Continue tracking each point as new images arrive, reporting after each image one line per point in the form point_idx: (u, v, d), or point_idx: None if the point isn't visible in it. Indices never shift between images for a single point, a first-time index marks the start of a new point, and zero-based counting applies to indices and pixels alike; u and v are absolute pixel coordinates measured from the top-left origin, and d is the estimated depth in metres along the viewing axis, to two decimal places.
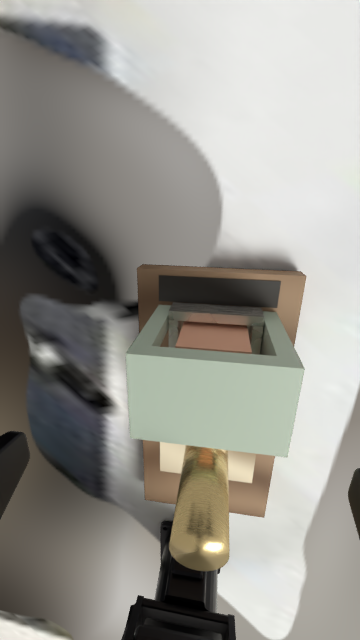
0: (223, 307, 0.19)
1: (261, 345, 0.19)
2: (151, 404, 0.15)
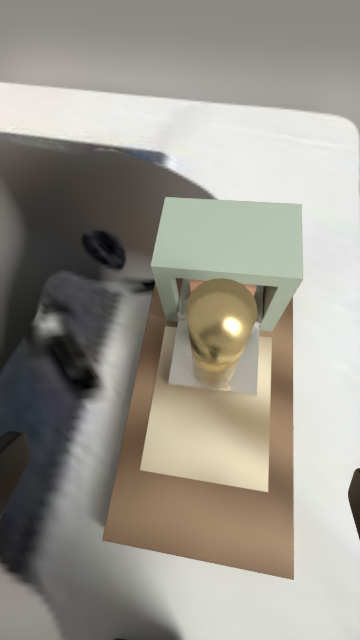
0: None
1: None
2: (178, 234, 0.17)
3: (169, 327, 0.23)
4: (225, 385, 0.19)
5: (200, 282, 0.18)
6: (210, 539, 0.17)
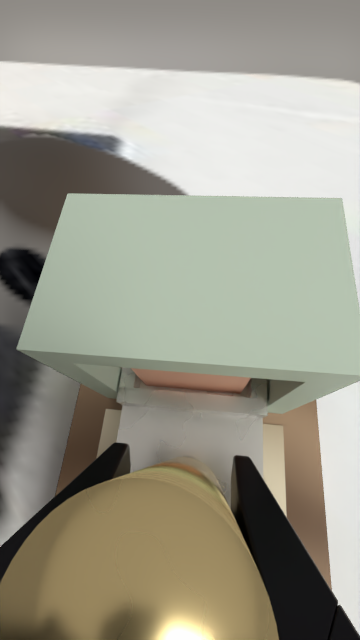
0: None
1: None
2: (85, 270, 0.08)
3: (112, 411, 0.14)
4: None
5: None
6: None
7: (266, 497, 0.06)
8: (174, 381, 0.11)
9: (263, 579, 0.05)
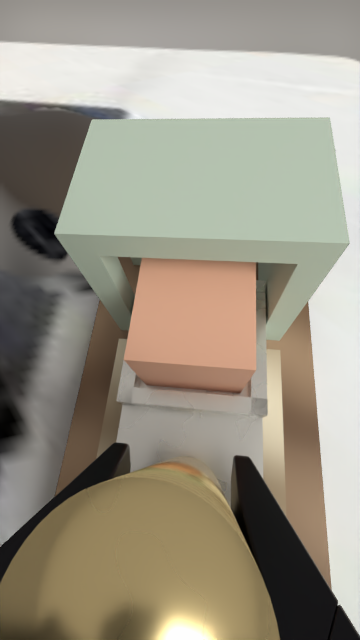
0: None
1: None
2: (109, 176, 0.09)
3: (125, 341, 0.15)
4: None
5: (144, 360, 0.09)
6: None
7: (266, 497, 0.06)
8: (174, 381, 0.11)
9: (263, 579, 0.05)
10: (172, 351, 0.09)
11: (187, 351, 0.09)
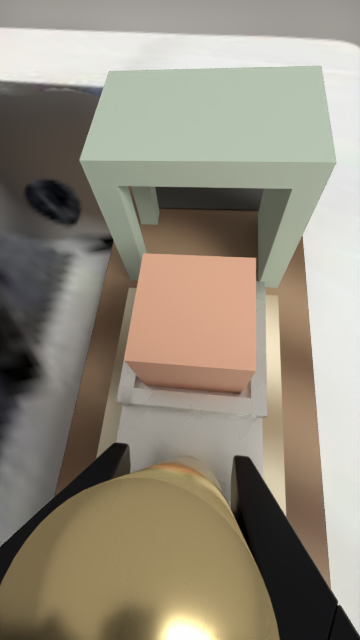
0: None
1: (264, 212, 0.15)
2: (126, 115, 0.10)
3: (134, 290, 0.16)
4: None
5: (144, 360, 0.09)
6: None
7: (266, 497, 0.06)
8: (174, 381, 0.11)
9: (263, 579, 0.05)
10: (172, 351, 0.09)
11: (187, 352, 0.09)
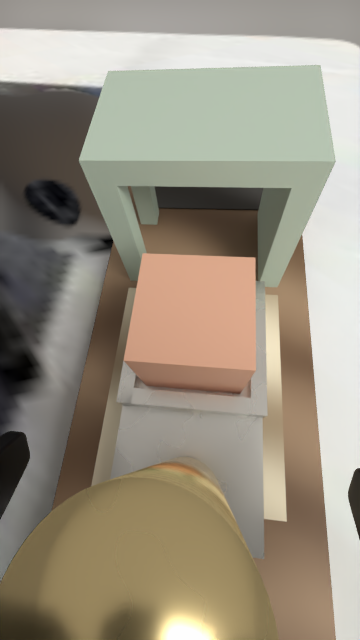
0: None
1: (263, 212, 0.15)
2: (125, 115, 0.10)
3: (134, 290, 0.16)
4: None
5: (144, 360, 0.09)
6: None
7: None
8: (174, 381, 0.11)
9: None
10: (172, 351, 0.09)
11: (187, 351, 0.09)
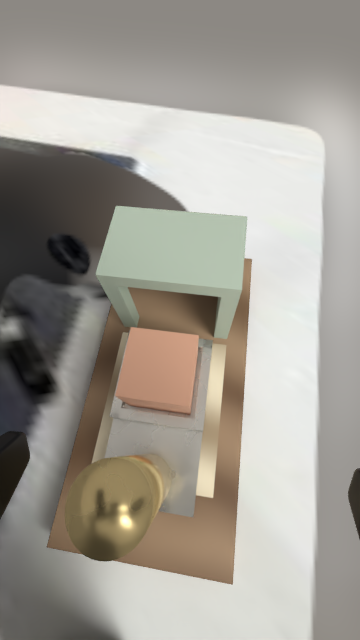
0: None
1: None
2: (125, 243, 0.17)
3: (126, 334, 0.23)
4: None
5: (127, 396, 0.16)
6: (154, 545, 0.17)
7: None
8: (146, 406, 0.18)
9: None
10: (143, 392, 0.16)
11: (152, 393, 0.16)
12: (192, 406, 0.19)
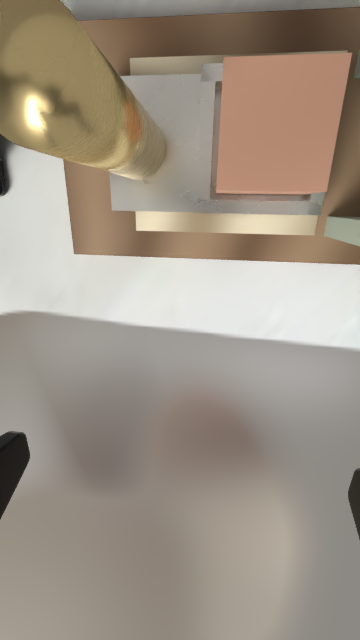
0: None
1: None
2: None
3: None
4: None
5: (223, 81, 0.10)
6: (82, 169, 0.16)
7: None
8: None
9: None
10: (231, 110, 0.10)
11: (231, 126, 0.10)
12: (227, 195, 0.15)
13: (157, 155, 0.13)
